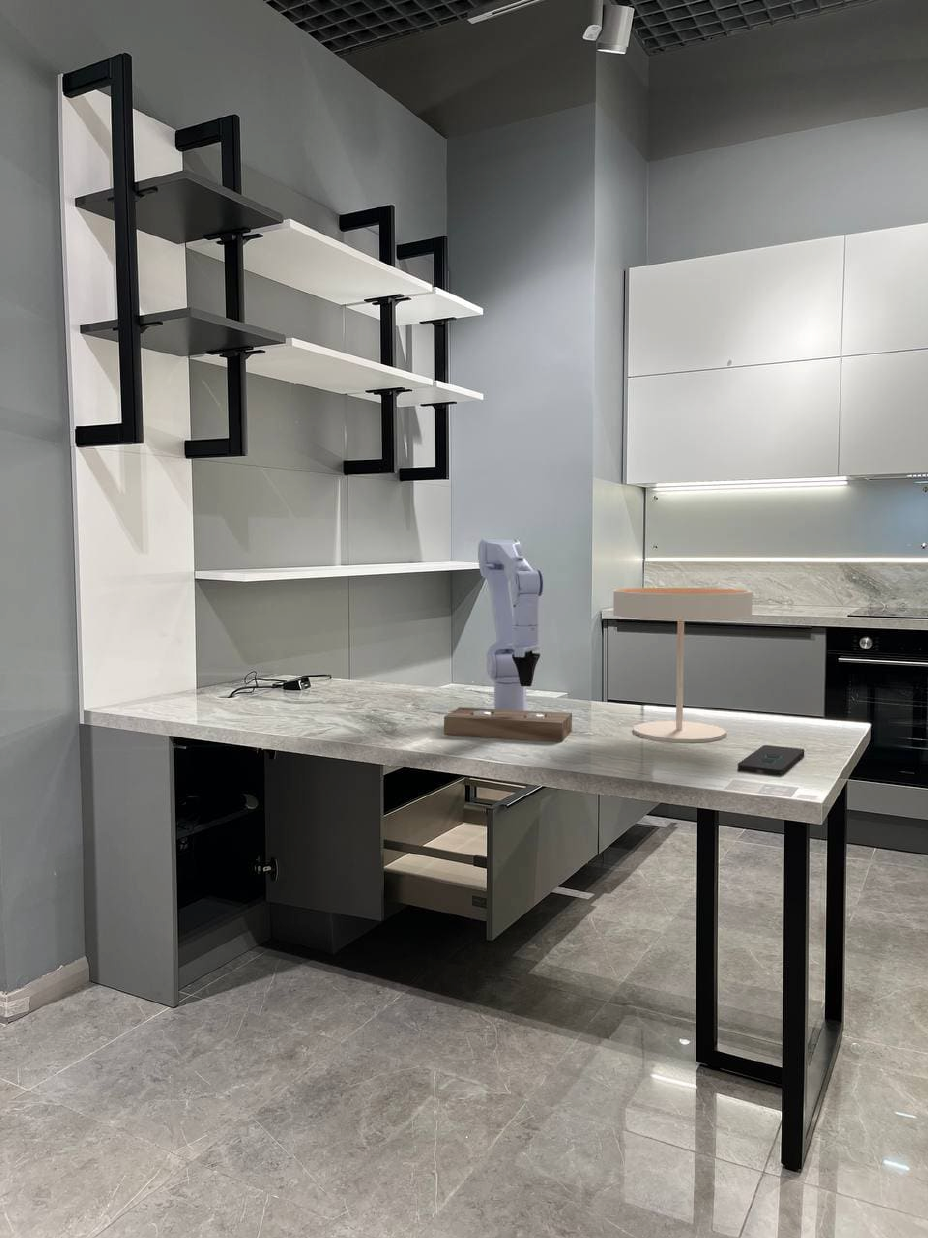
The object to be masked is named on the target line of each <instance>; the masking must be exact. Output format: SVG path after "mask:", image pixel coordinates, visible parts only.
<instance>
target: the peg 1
mask: <svg viewBox="0 0 928 1238" xmlns="http://www.w3.org/2000/svg"><path fill="white" fill-rule="evenodd" d="M473 715H486V716H490V715H491V712H490V711H474V712H473Z"/></svg>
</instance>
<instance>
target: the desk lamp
mask: <svg viewBox="0 0 928 1238" xmlns="http://www.w3.org/2000/svg"><path fill="white" fill-rule="evenodd" d="M753 593H754V592H753V591H752V590H747V589H737V588H736V589H734V588H716V587H713V588H711V587H633V588H632V587H631V588H630V587H629V588H628V587H627V588H617V589H613V599H612V600H613V602H612V603H613V605H612V606H613V609H612V610H613V612H612V614H613V616H615V617H620V618H626V619H637V620H638V619H639V620H656V621H657V620H658V621H677V638H676V641H677V642H676V644H677V645H676V696H675V697H676V700H675V701H676V705H675V708H676V709H675V721H674V720H673V721H672V720H664V721H663V720H662V721H649V722H642V723H639V724H636V725H634V726H633V727H632V729H633V730H632V731H633V734H634V735H637V736H638V737H641V738H645V739H649V740H652V741H653V740H654V741H661V742H662V741H663V742H670V743H671V742H672V743H703V742H704V743H705V742H707V743H708V742H713V741H714V742H715V741H719V740H723V739H724V738H725V737H727V731H726V729H724V728H722V727H720V726H717V725H712V724H708V723H702V722H694V721H693V722H692V721H683V717H684V716H683V715H684V714H683V712H684V709H683V708H684V707H683V706H684V657H685V655H684V654H685V653H684V651H685V649H684V648H685V621H691V622H692V621H694V622H697V621H730V620H731V621H732V620H734V621H735V620H742V619H743V620H744V619H749V618H752V617H753V603H754V601H753V599H754V598H753V596H754V595H753Z"/></svg>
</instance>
